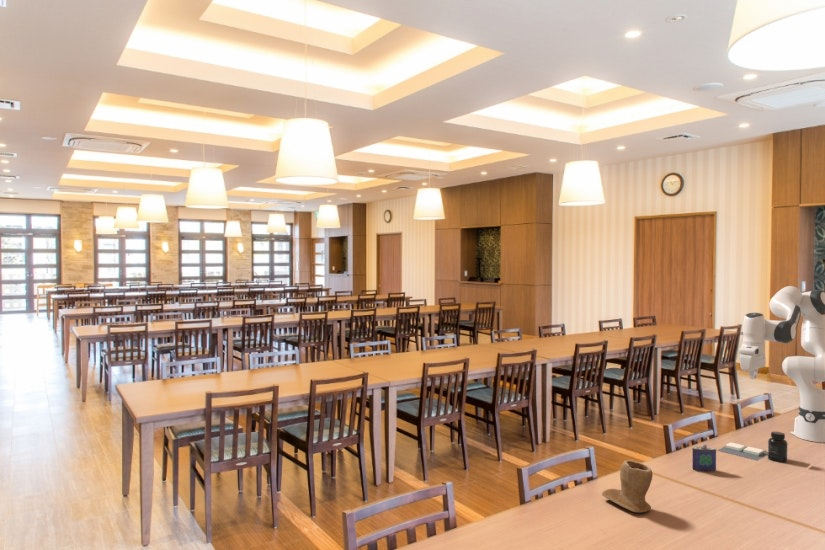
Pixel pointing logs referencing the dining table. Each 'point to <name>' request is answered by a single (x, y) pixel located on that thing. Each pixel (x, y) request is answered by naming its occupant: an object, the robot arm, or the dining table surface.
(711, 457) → the flask
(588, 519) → the dining table surface
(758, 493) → the dining table surface
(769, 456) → the supplement bottle
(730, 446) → the tile
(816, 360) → the robot arm
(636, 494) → the brown boot
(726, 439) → the dining table surface
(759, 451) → the tile
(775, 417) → the dining table surface
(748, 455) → the mat
